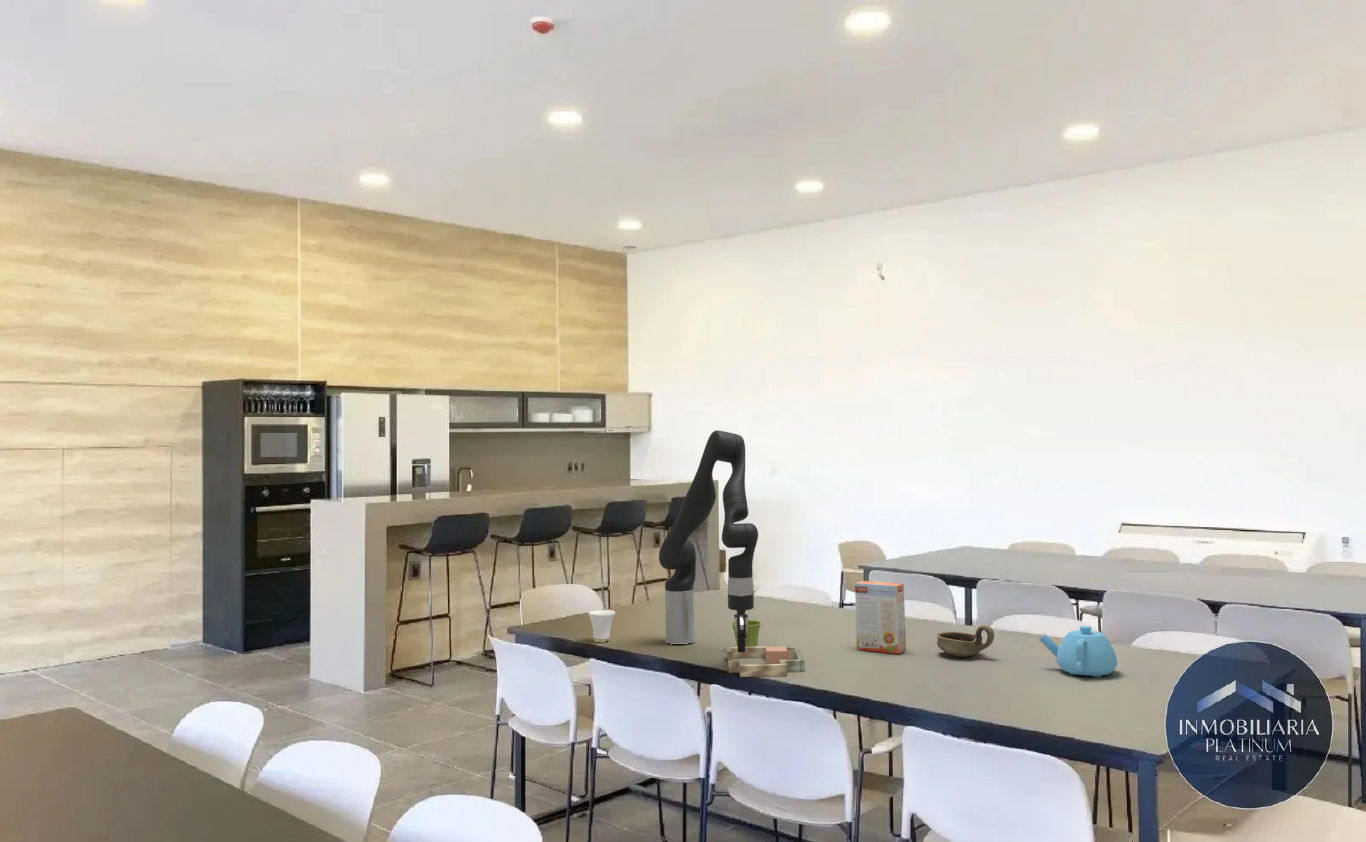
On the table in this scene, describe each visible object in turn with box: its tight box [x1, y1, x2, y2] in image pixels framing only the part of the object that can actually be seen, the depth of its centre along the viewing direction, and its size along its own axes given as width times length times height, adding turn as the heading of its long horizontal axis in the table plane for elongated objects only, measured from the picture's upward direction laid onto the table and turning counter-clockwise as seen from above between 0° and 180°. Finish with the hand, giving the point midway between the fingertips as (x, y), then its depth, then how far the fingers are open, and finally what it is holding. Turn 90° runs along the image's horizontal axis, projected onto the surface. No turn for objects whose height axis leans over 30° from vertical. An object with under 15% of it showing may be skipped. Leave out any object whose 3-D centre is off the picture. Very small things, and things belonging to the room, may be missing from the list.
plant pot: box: [730, 619, 762, 647], centre depth 305 cm, size 9×9×9 cm
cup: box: [587, 609, 616, 639], centre depth 324 cm, size 9×9×10 cm
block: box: [764, 645, 788, 664], centre depth 284 cm, size 6×6×5 cm
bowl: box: [936, 624, 995, 658], centre depth 290 cm, size 14×18×10 cm
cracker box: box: [854, 580, 907, 655], centre depth 300 cm, size 14×6×21 cm, turn 53°
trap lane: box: [726, 645, 806, 678], centre depth 284 cm, size 22×25×4 cm
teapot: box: [1038, 625, 1118, 678], centre depth 268 cm, size 20×20×13 cm
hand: (741, 652), depth 284 cm, fingers closed
